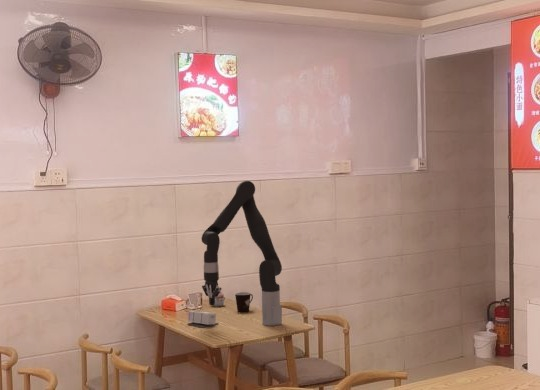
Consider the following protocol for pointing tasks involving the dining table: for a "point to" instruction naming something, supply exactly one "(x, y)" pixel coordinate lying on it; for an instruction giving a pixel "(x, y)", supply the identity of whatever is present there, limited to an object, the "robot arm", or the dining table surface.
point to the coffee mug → (243, 301)
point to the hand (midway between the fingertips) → (211, 304)
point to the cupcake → (219, 300)
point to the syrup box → (202, 317)
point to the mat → (200, 325)
